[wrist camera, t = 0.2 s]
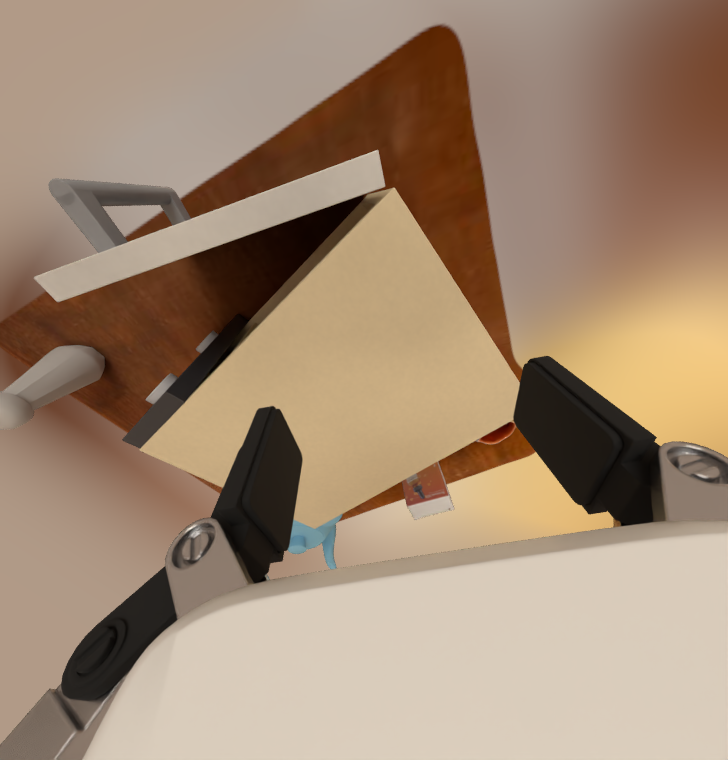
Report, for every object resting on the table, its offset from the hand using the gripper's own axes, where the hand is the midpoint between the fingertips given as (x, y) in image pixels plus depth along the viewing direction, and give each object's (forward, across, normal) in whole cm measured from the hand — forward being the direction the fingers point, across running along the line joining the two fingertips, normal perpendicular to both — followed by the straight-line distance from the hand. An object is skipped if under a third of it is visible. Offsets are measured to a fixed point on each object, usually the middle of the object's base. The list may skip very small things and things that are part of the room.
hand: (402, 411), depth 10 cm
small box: (+28, -5, +41) cm, 50 cm away
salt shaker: (+28, +41, +5) cm, 50 cm away
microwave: (+28, +6, +9) cm, 30 cm away
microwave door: (+28, +9, -9) cm, 31 cm away
